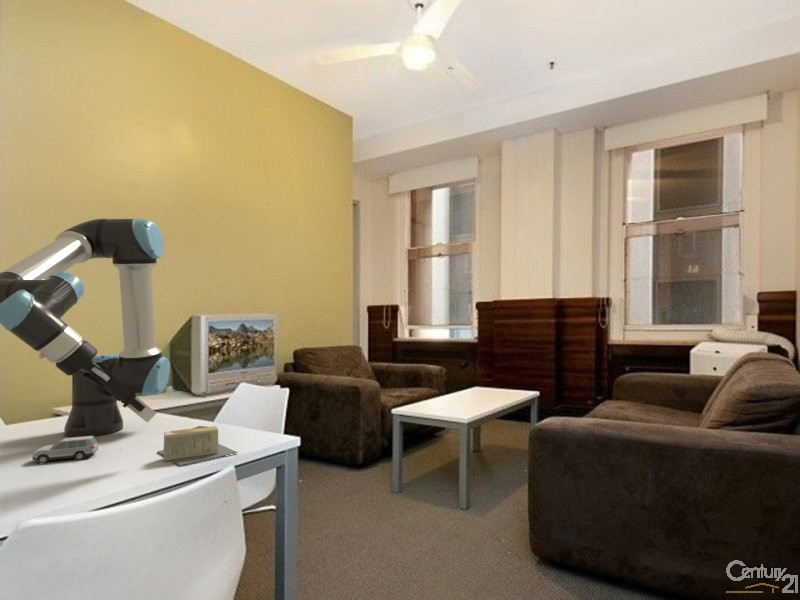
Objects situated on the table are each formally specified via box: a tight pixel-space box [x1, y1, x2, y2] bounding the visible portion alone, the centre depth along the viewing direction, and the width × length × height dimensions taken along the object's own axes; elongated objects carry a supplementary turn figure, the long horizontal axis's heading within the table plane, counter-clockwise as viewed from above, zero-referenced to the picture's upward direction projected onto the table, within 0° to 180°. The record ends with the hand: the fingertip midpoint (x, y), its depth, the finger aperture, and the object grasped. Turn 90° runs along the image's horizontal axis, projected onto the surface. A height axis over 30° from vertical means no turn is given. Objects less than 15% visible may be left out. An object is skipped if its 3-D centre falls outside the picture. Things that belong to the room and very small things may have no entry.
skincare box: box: [163, 425, 219, 461], centre depth 116 cm, size 6×4×12 cm
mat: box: [157, 443, 239, 468], centre depth 119 cm, size 16×14×1 cm
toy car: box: [32, 436, 100, 464], centre depth 115 cm, size 6×13×5 cm, turn 111°
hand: (151, 417), depth 112 cm, fingers closed
